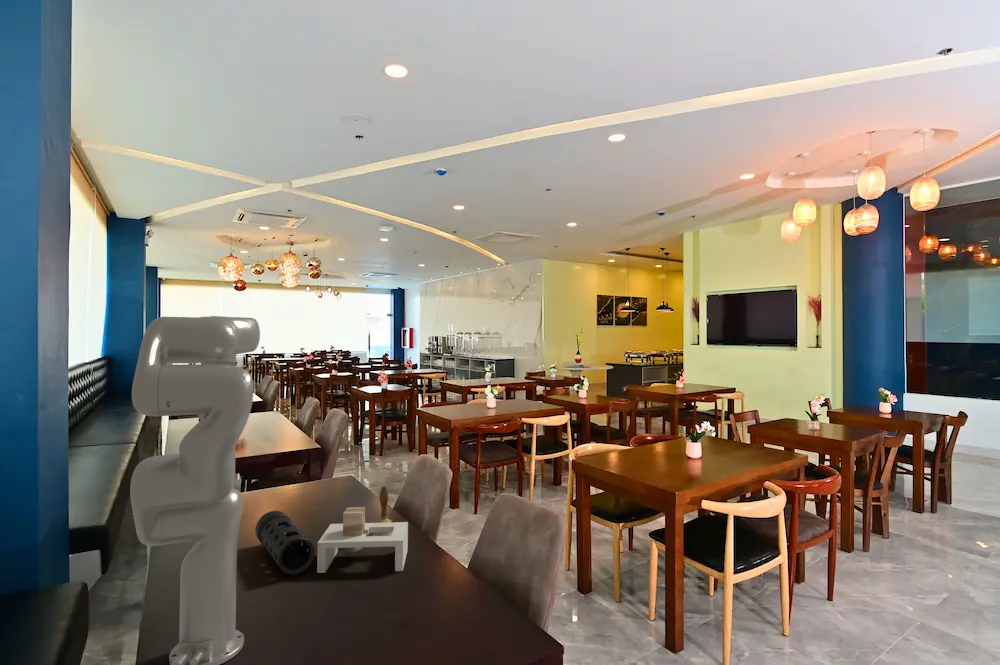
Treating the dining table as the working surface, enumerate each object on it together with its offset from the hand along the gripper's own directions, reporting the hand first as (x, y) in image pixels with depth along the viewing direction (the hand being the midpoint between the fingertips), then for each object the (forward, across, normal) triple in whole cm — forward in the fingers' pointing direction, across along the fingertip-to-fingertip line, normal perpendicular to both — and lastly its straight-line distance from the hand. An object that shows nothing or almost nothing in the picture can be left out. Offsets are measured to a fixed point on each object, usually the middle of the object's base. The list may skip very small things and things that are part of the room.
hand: (217, 440), depth 124 cm
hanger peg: (+34, +15, -30) cm, 47 cm away
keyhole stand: (+36, +15, -33) cm, 51 cm away
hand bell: (+37, +31, -36) cm, 60 cm away
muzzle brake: (+37, +18, -10) cm, 42 cm away
